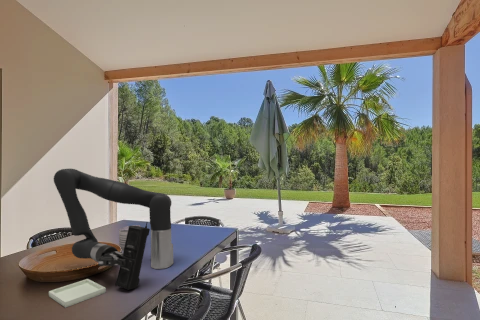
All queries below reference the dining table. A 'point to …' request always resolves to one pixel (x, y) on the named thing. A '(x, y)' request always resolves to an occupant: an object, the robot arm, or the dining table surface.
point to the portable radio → (132, 257)
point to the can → (123, 236)
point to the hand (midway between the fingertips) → (127, 262)
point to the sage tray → (76, 292)
